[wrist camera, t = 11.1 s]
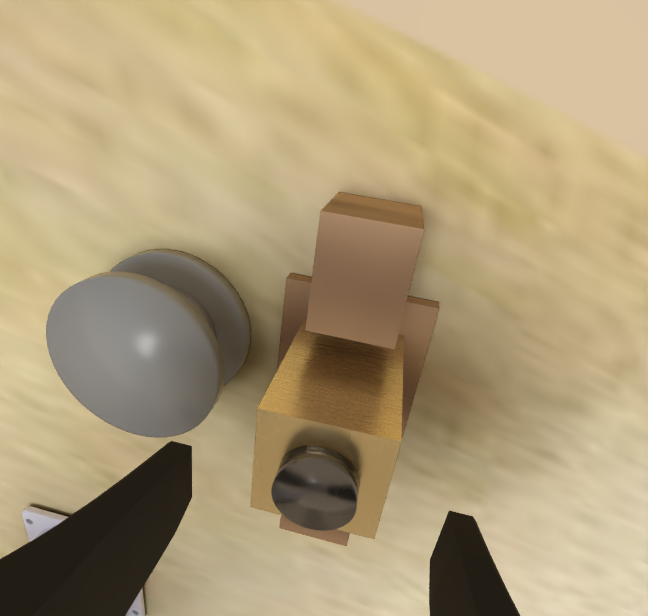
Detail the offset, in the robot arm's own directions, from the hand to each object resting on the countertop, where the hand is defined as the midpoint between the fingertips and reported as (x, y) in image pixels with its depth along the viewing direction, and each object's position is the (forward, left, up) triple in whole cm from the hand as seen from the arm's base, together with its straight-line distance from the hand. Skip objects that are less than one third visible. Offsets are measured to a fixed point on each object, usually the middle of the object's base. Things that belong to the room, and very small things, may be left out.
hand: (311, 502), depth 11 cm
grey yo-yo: (0, +8, -7) cm, 11 cm away
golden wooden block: (0, 0, -7) cm, 7 cm away
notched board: (0, 0, -7) cm, 7 cm away
